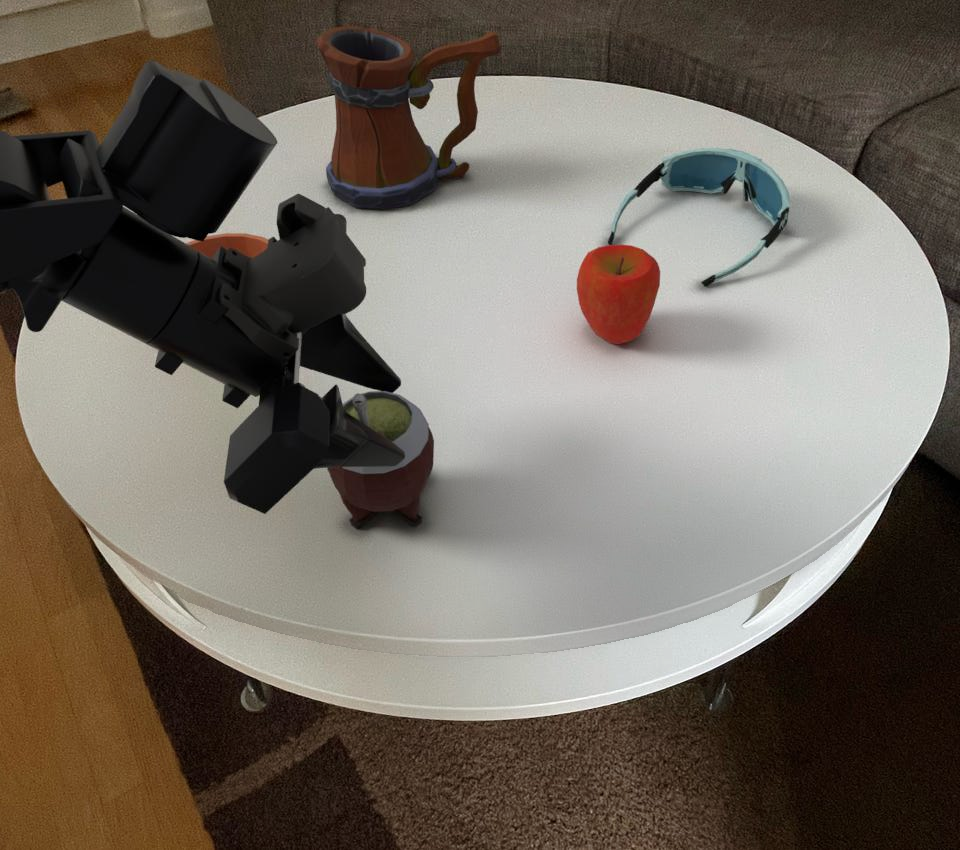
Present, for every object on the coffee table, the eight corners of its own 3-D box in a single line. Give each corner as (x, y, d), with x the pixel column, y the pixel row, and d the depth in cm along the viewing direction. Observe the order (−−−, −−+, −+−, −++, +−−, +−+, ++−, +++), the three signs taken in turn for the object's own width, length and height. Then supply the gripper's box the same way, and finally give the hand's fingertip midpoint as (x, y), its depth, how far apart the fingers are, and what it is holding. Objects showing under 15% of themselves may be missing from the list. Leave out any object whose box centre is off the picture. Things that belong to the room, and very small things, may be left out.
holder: (131, 326, 78) (119, 296, 75) (209, 253, 85) (200, 223, 83) (246, 356, 74) (237, 325, 72) (317, 277, 82) (311, 246, 79)
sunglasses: (809, 220, 85) (817, 174, 81) (721, 313, 78) (725, 268, 75) (680, 172, 92) (682, 128, 88) (590, 254, 85) (588, 211, 82)
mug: (500, 147, 97) (496, 2, 87) (508, 204, 89) (504, 51, 78) (331, 158, 97) (307, 13, 86) (324, 216, 89) (296, 64, 78)
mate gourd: (391, 447, 66) (365, 279, 55) (469, 504, 62) (457, 334, 51) (310, 506, 62) (266, 338, 51) (387, 571, 58) (356, 403, 47)
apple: (562, 343, 74) (565, 266, 68) (595, 302, 77) (600, 226, 72) (634, 367, 71) (642, 289, 66) (665, 323, 75) (675, 246, 70)
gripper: (237, 307, 38) (505, 459, 46) (267, 106, 51) (471, 252, 60) (110, 455, 43) (370, 568, 52) (166, 238, 57) (367, 355, 65)
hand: (399, 422), depth 57 cm, fingers closed on mate gourd, 6 cm apart
